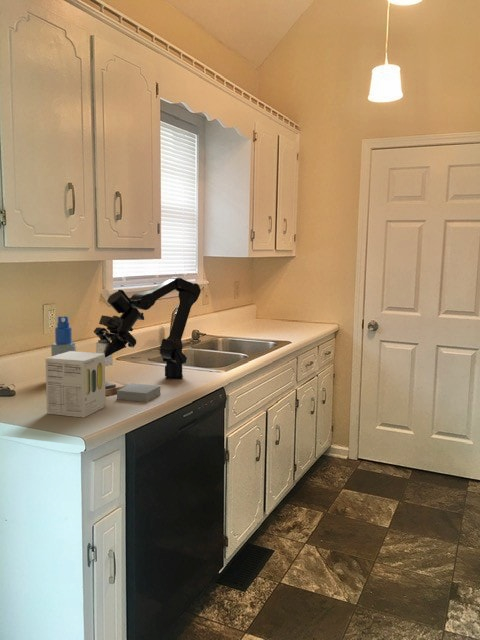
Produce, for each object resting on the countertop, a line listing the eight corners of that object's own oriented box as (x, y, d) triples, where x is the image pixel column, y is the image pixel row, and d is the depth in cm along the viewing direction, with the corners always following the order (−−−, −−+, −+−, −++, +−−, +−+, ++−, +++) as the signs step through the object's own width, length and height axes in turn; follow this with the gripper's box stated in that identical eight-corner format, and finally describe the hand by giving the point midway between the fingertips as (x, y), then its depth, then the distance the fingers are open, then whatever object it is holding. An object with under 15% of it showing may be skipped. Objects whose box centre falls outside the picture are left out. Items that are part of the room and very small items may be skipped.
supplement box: (84, 418, 160) (82, 360, 158) (45, 414, 164) (44, 357, 162) (106, 406, 173) (105, 353, 171) (70, 402, 176) (69, 350, 174)
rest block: (132, 391, 192) (132, 383, 191) (160, 394, 189) (160, 385, 188) (116, 399, 181) (116, 390, 181) (146, 402, 178) (146, 393, 178)
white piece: (105, 363, 192) (105, 339, 191) (112, 365, 189) (112, 340, 188) (96, 365, 189) (95, 340, 188) (102, 366, 186) (102, 341, 185)
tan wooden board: (116, 386, 199) (116, 378, 198) (130, 390, 193) (130, 382, 193) (88, 392, 190) (88, 384, 189) (101, 396, 184) (101, 388, 184)
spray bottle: (76, 382, 204) (75, 317, 201) (51, 383, 201) (49, 317, 198) (76, 377, 212) (75, 314, 209) (52, 378, 210) (51, 315, 207)
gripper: (97, 305, 195) (71, 338, 188) (129, 309, 183) (102, 344, 176) (115, 324, 202) (91, 357, 195) (147, 329, 190) (122, 364, 183)
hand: (100, 355), depth 187 cm, fingers closed on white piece, 4 cm apart
